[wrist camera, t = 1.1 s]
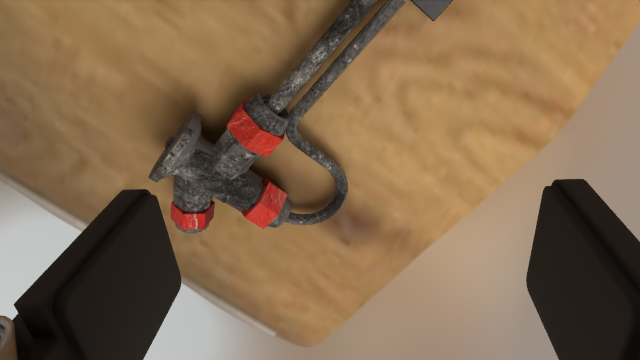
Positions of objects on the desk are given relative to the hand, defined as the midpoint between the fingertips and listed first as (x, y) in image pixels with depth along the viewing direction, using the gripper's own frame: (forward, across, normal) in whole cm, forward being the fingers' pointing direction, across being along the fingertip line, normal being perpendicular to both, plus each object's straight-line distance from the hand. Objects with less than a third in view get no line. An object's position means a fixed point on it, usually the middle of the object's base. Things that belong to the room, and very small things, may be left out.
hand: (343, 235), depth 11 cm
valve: (+25, +6, +7) cm, 27 cm away
